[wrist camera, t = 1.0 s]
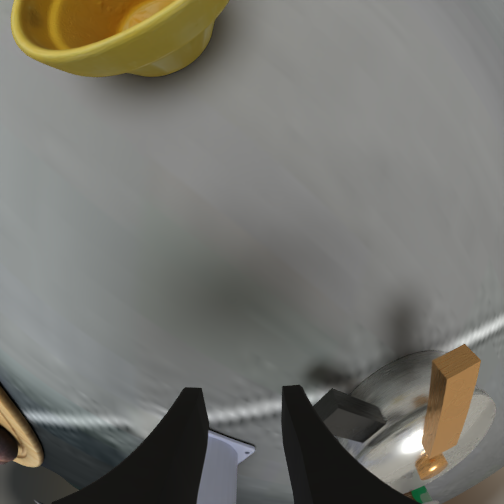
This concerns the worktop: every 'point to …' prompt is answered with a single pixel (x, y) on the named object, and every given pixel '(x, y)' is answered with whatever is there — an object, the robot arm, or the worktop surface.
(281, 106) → the worktop surface
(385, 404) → the cooker pot
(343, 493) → the robot arm
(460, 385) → the lid
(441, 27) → the worktop surface
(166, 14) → the plant pot
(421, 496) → the food container
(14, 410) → the wooden plate with food
